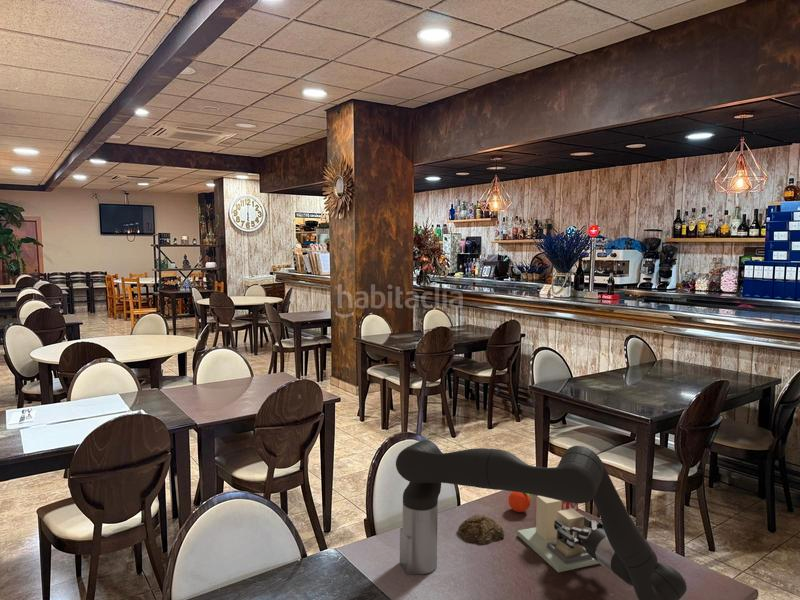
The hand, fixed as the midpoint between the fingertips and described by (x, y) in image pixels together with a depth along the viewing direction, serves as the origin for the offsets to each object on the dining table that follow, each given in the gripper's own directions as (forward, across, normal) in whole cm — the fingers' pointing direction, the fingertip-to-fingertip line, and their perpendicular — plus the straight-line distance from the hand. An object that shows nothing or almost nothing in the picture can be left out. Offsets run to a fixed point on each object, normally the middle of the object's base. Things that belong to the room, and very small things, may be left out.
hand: (568, 521), depth 152 cm
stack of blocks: (+22, -13, +10) cm, 28 cm away
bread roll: (+19, +17, +10) cm, 28 cm away
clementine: (+27, -2, +10) cm, 29 cm away
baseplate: (+4, 0, +10) cm, 11 cm away
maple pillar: (-1, 0, +8) cm, 9 cm away
